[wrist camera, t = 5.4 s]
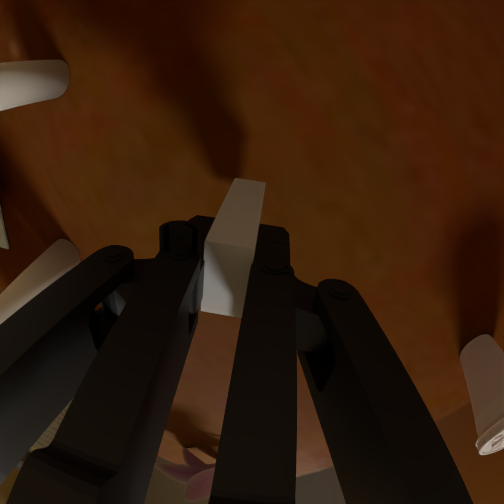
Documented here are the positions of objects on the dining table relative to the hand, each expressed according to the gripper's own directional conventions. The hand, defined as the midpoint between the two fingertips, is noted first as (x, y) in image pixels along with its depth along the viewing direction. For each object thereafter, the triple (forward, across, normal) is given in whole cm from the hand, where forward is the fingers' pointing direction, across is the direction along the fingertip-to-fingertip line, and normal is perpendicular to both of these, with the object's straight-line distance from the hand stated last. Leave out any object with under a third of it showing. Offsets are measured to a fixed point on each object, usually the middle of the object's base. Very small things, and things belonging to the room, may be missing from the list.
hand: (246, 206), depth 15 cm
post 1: (+2, -13, +6) cm, 15 cm away
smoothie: (+2, +22, -10) cm, 24 cm away
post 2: (+2, -13, -6) cm, 15 cm away
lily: (+2, 0, -32) cm, 33 cm away
